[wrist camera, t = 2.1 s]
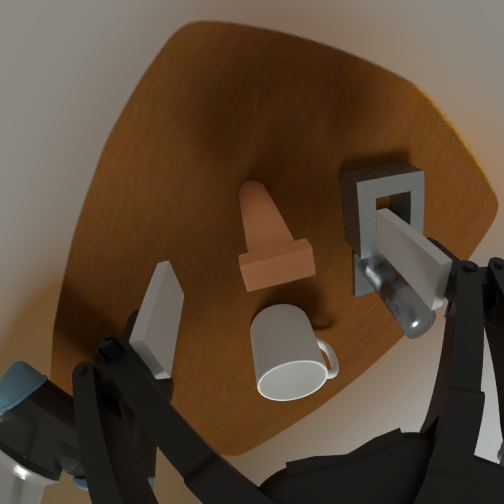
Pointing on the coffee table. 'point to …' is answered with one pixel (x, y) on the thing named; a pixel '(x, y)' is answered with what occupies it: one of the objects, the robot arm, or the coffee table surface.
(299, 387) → the cup
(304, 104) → the coffee table surface
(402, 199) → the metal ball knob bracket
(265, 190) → the wedge pin
